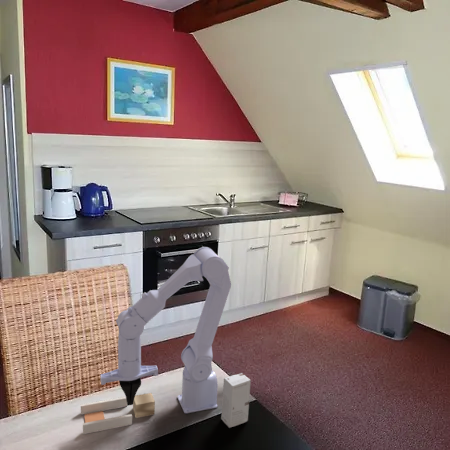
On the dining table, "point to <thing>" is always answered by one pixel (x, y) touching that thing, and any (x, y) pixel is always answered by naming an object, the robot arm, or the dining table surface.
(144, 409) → the block
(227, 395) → the skincare box
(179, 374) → the dining table surface
